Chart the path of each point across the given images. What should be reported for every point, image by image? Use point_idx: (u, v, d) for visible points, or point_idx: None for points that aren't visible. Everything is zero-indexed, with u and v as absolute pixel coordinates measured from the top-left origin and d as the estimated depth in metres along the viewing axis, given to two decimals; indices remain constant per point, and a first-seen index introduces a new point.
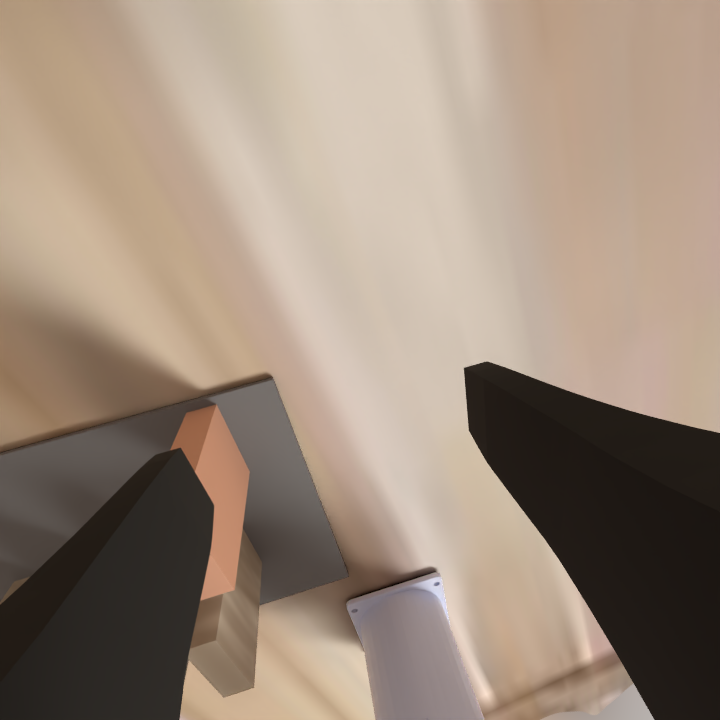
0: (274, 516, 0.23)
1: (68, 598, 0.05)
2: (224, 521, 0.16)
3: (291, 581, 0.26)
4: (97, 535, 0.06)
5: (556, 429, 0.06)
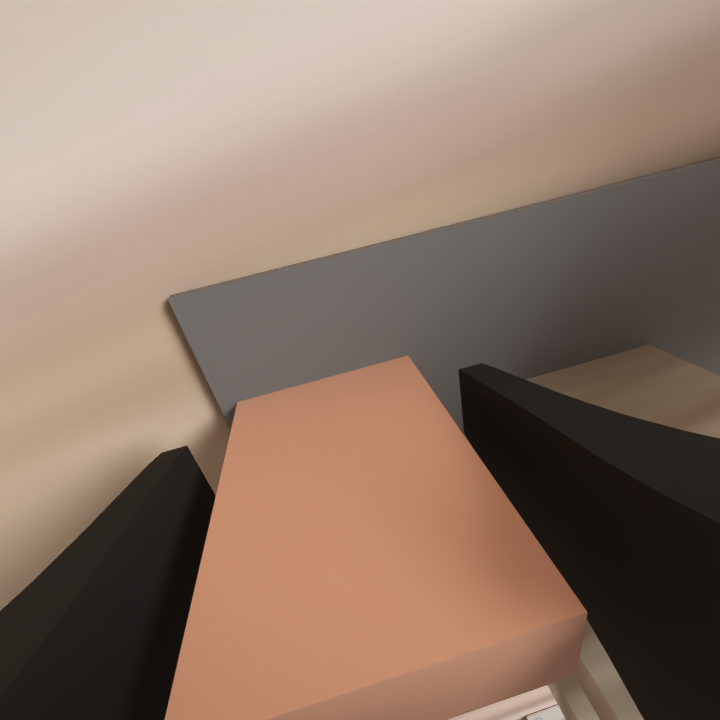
0: (542, 313, 0.11)
1: (79, 595, 0.05)
2: (387, 517, 0.06)
3: None
4: (106, 532, 0.06)
5: (547, 430, 0.06)
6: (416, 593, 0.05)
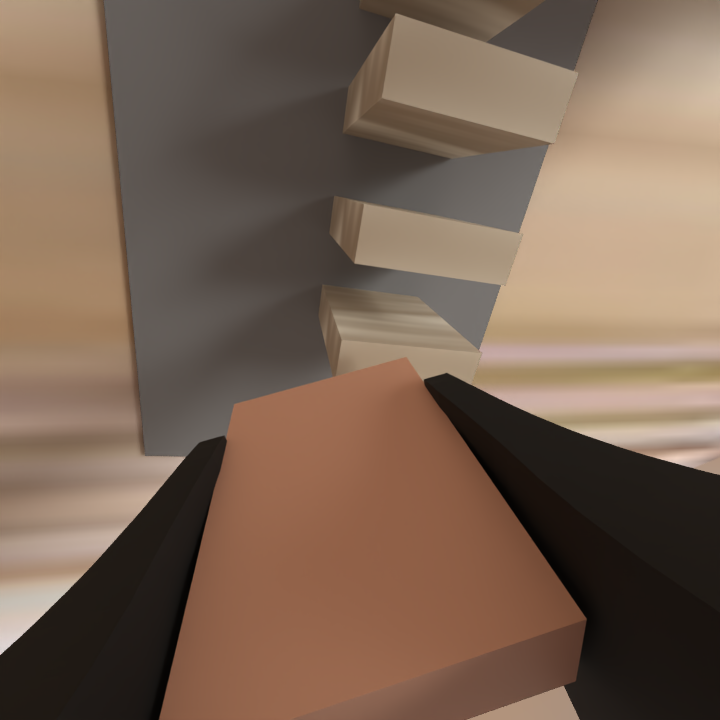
0: None
1: (146, 575, 0.05)
2: (385, 521, 0.06)
3: None
4: (161, 516, 0.06)
5: (496, 446, 0.06)
6: (413, 599, 0.05)
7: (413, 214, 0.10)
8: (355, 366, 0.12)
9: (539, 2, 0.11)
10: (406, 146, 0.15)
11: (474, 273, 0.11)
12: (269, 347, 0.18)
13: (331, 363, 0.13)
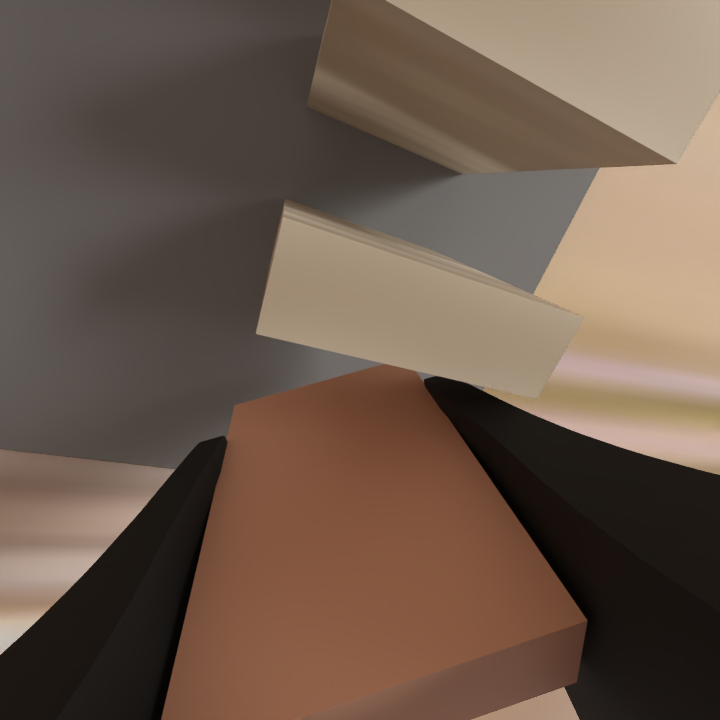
0: None
1: (146, 575, 0.05)
2: (385, 523, 0.06)
3: None
4: (161, 516, 0.06)
5: (496, 446, 0.06)
6: (414, 600, 0.05)
7: None
8: (311, 297, 0.05)
9: None
10: None
11: (625, 110, 0.05)
12: (185, 292, 0.11)
13: (263, 298, 0.06)
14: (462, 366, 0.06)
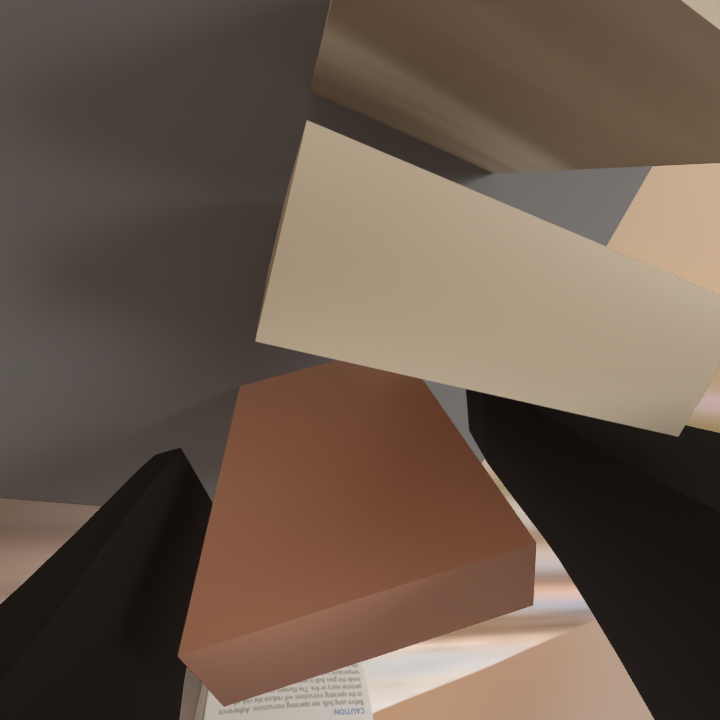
0: None
1: (66, 599, 0.05)
2: (374, 477, 0.07)
3: None
4: (97, 535, 0.06)
5: (556, 428, 0.06)
6: (396, 533, 0.06)
7: None
8: (352, 274, 0.03)
9: None
10: None
11: None
12: (166, 313, 0.10)
13: (264, 294, 0.04)
14: (581, 389, 0.04)
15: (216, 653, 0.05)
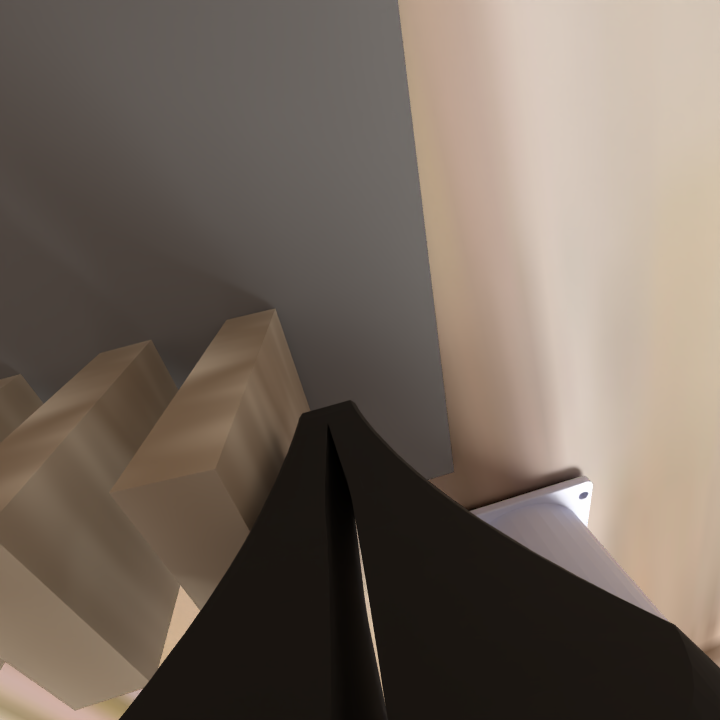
0: (348, 322, 0.12)
1: (325, 520, 0.05)
2: None
3: None
4: (308, 473, 0.06)
5: (349, 490, 0.06)
6: None
7: None
8: None
9: None
10: None
11: None
12: None
13: None
14: None
15: None
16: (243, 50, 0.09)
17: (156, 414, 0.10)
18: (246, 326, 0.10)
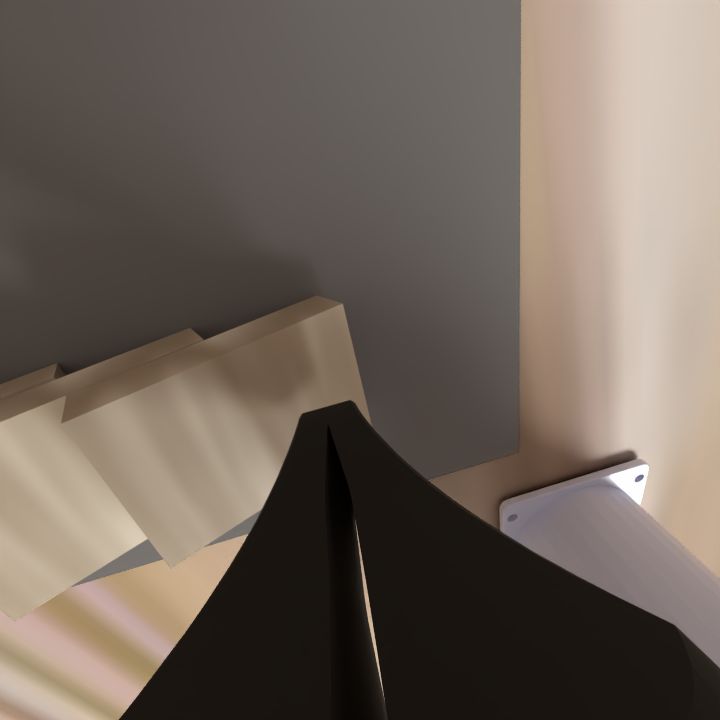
0: (437, 297, 0.12)
1: (326, 520, 0.05)
2: None
3: (432, 452, 0.15)
4: (308, 473, 0.06)
5: (350, 490, 0.06)
6: None
7: None
8: None
9: None
10: None
11: None
12: None
13: None
14: None
15: None
16: (370, 21, 0.09)
17: None
18: (298, 312, 0.10)
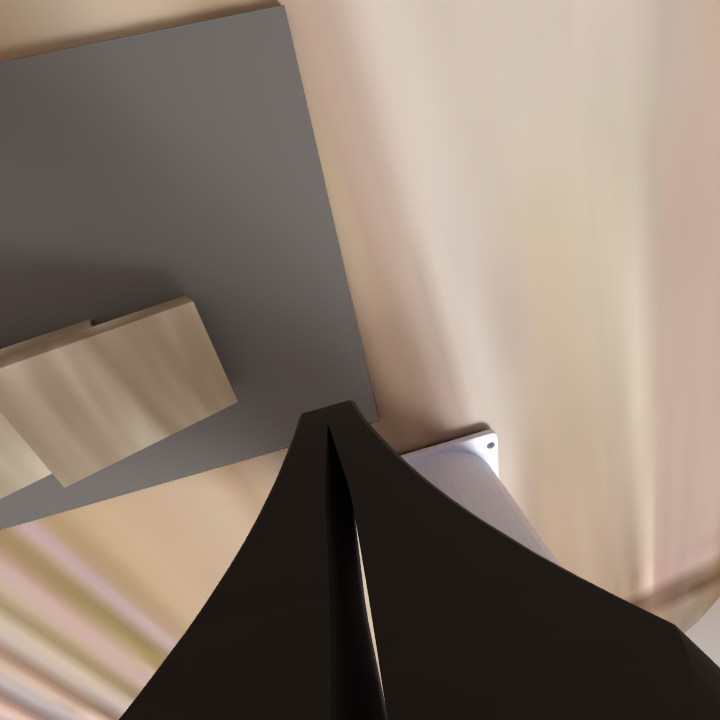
0: (283, 297, 0.16)
1: (326, 520, 0.05)
2: None
3: None
4: (308, 473, 0.06)
5: (349, 490, 0.06)
6: None
7: None
8: None
9: None
10: None
11: None
12: None
13: None
14: None
15: None
16: (194, 107, 0.13)
17: None
18: (162, 307, 0.14)
